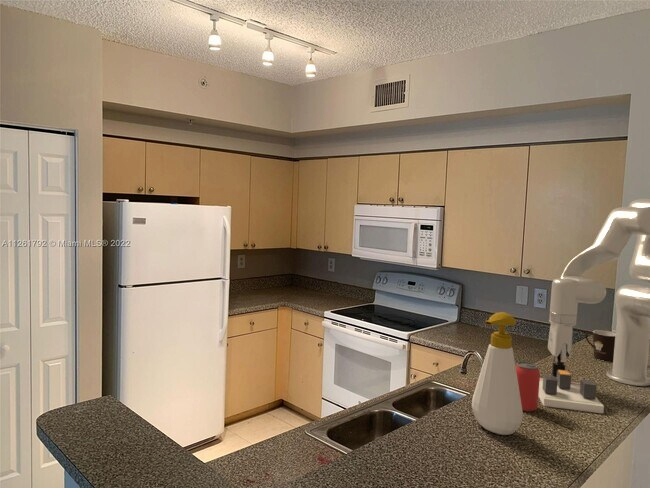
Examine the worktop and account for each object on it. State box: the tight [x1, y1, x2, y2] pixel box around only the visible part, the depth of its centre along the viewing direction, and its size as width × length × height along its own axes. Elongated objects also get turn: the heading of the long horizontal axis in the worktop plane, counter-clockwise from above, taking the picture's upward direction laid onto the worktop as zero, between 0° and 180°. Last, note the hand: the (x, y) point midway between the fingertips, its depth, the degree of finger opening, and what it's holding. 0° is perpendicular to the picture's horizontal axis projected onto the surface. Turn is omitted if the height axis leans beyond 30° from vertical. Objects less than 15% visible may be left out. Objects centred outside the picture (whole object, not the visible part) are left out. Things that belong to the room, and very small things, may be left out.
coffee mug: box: [584, 329, 616, 362], centre depth 181 cm, size 12×9×10 cm
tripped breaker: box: [555, 369, 572, 389], centre depth 142 cm, size 4×3×4 cm
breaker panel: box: [538, 374, 605, 414], centre depth 139 cm, size 18×15×6 cm
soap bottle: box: [471, 311, 524, 436], centre depth 115 cm, size 13×10×29 cm
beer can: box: [515, 361, 541, 412], centre depth 131 cm, size 7×7×12 cm
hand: (558, 376), depth 149 cm, fingers closed
